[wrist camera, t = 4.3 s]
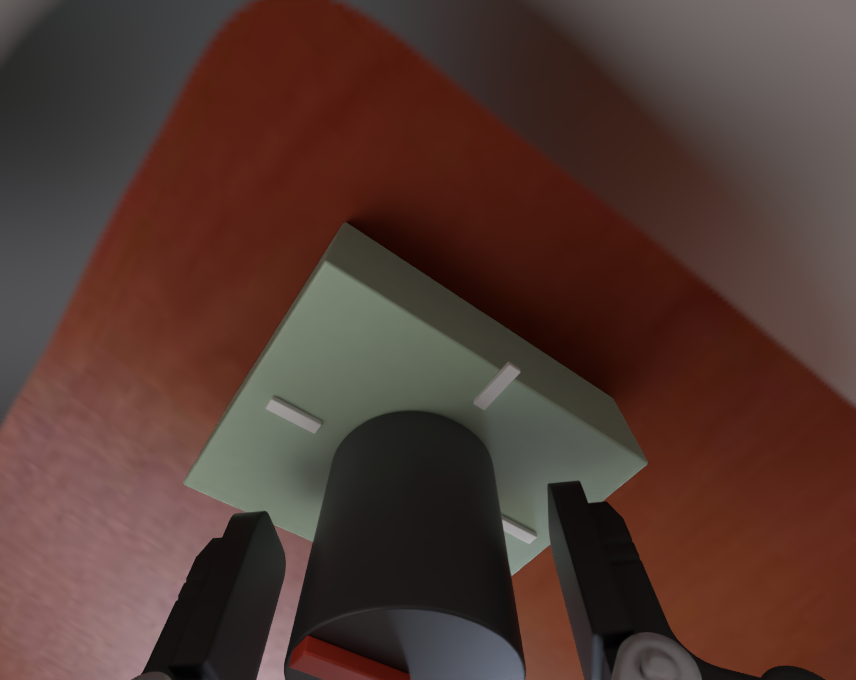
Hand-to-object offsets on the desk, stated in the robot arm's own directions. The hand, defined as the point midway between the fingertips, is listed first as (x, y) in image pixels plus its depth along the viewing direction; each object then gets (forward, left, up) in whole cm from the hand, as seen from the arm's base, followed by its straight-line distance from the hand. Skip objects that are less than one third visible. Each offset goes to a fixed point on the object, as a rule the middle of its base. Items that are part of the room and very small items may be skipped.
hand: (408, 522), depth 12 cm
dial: (0, 0, -2) cm, 2 cm away
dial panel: (0, 0, -5) cm, 5 cm away
